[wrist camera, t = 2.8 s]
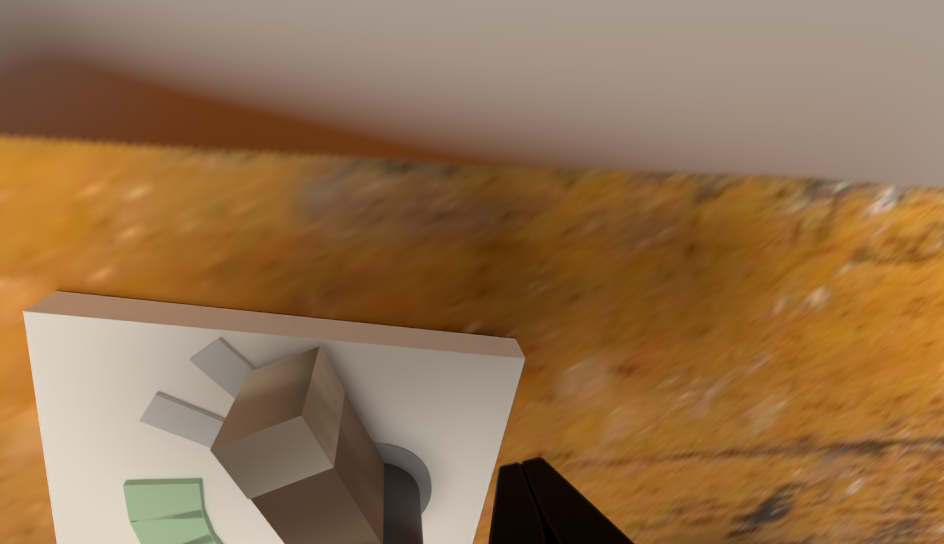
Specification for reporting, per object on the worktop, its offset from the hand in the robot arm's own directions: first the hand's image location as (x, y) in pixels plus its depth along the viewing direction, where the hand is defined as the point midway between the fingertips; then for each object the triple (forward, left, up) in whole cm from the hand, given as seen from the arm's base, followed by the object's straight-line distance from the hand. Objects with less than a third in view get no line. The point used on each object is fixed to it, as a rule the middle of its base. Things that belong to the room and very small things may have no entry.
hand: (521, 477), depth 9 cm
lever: (+3, +4, -5) cm, 7 cm away
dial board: (+5, +5, -6) cm, 10 cm away
